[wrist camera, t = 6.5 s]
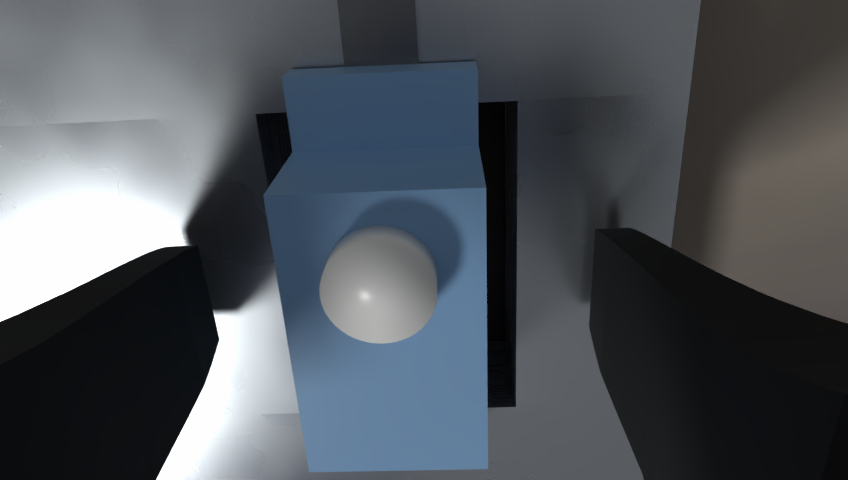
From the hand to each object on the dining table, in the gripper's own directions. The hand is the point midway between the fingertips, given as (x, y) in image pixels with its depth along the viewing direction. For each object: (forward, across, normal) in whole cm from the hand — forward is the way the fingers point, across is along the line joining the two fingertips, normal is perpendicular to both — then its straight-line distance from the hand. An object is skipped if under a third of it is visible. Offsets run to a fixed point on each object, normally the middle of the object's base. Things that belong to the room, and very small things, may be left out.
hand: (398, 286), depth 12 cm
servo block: (+3, 0, 0) cm, 3 cm away
